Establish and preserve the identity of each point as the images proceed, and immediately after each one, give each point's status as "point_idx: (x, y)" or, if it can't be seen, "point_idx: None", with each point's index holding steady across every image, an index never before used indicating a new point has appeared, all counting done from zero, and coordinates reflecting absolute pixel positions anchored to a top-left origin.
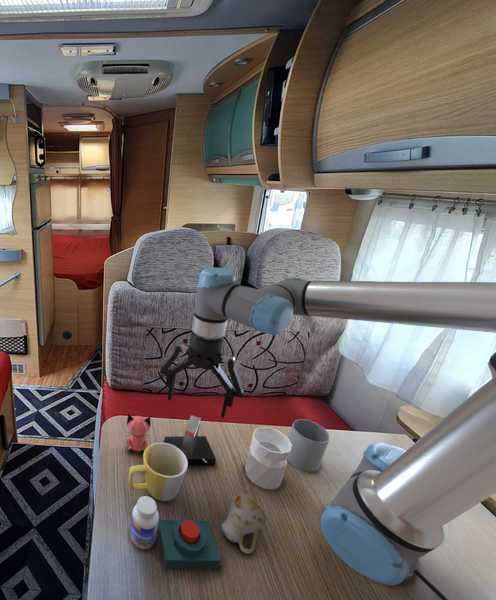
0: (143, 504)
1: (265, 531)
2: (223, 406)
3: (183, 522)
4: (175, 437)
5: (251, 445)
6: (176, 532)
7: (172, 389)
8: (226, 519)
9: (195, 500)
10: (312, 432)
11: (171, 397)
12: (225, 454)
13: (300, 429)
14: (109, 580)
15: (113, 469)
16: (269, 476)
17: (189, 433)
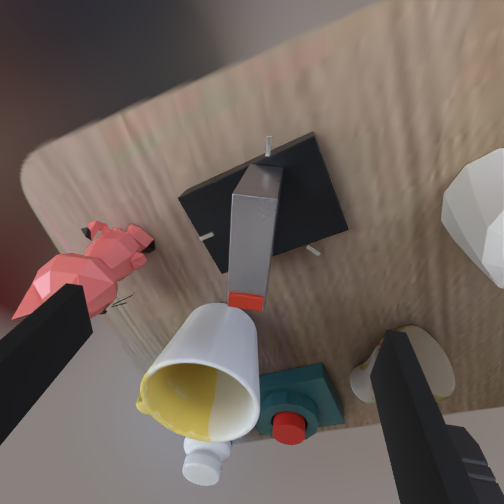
0: (194, 476)
1: (443, 343)
2: (392, 456)
3: (275, 429)
4: (211, 188)
5: (500, 220)
6: (267, 426)
7: (44, 366)
8: (360, 382)
9: (297, 323)
10: None
11: (85, 319)
12: (385, 157)
13: None
14: None
15: (114, 307)
16: None
17: (244, 306)
